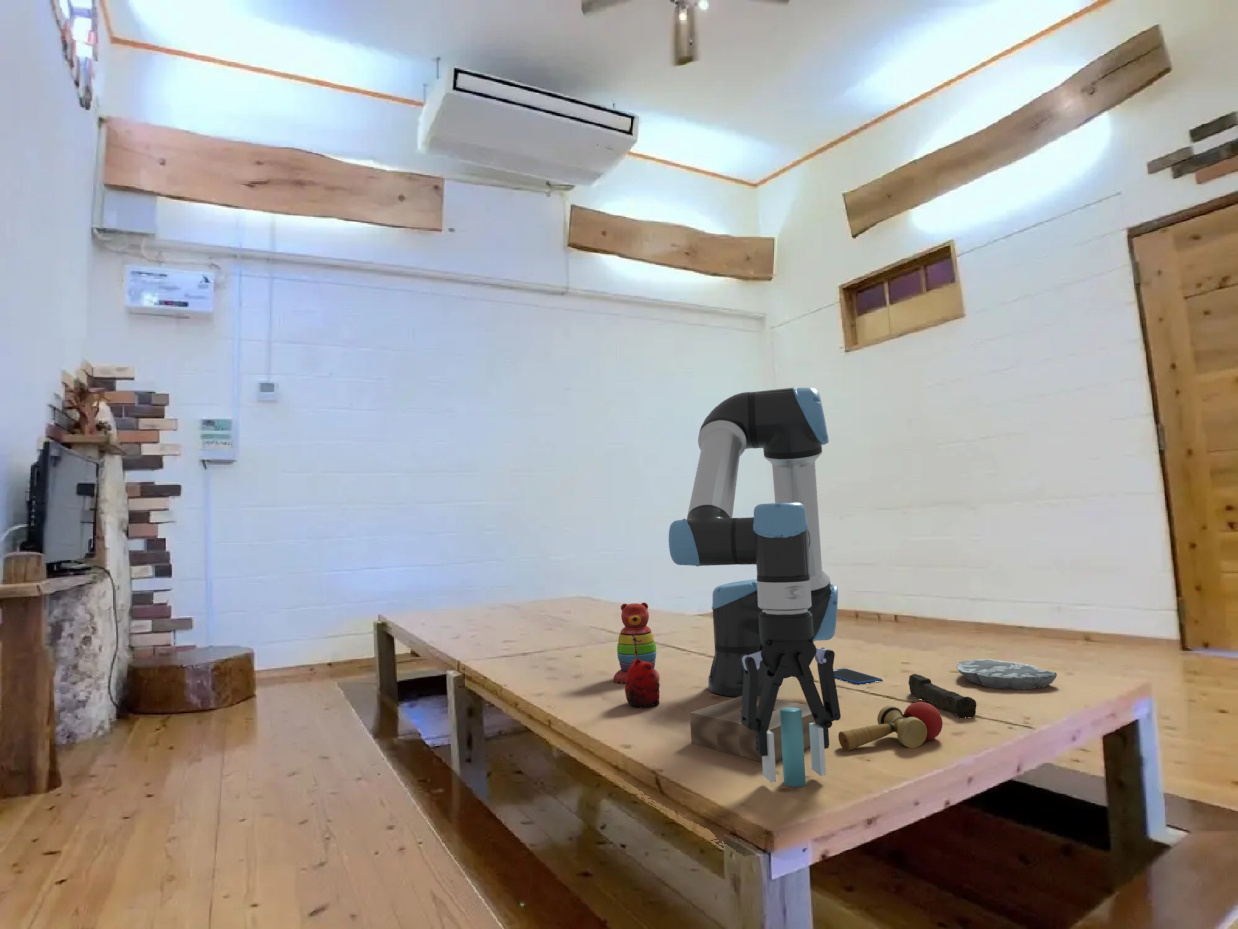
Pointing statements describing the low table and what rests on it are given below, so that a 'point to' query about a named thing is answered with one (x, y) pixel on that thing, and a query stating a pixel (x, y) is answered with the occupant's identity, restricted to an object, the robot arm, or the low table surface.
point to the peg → (792, 747)
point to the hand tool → (941, 697)
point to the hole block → (740, 728)
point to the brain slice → (1005, 674)
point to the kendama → (897, 726)
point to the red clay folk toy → (641, 682)
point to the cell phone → (854, 676)
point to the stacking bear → (636, 623)
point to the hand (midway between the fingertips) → (794, 775)
